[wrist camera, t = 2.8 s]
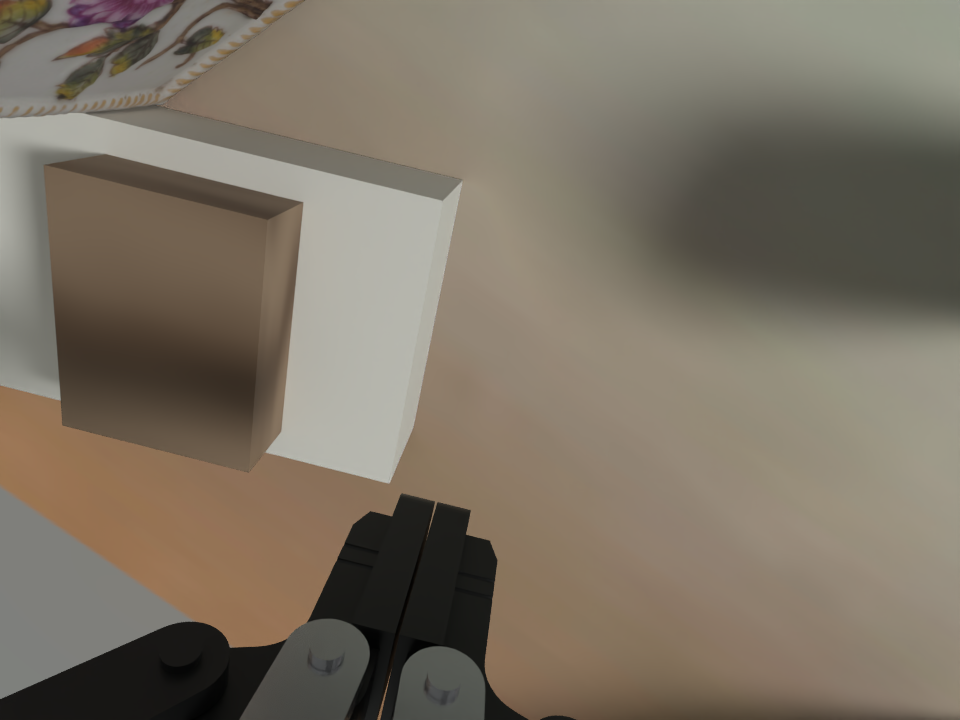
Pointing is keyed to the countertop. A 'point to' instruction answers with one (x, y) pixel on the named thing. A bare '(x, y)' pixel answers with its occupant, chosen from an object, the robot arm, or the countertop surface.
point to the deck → (319, 281)
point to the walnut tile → (171, 307)
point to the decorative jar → (117, 49)
